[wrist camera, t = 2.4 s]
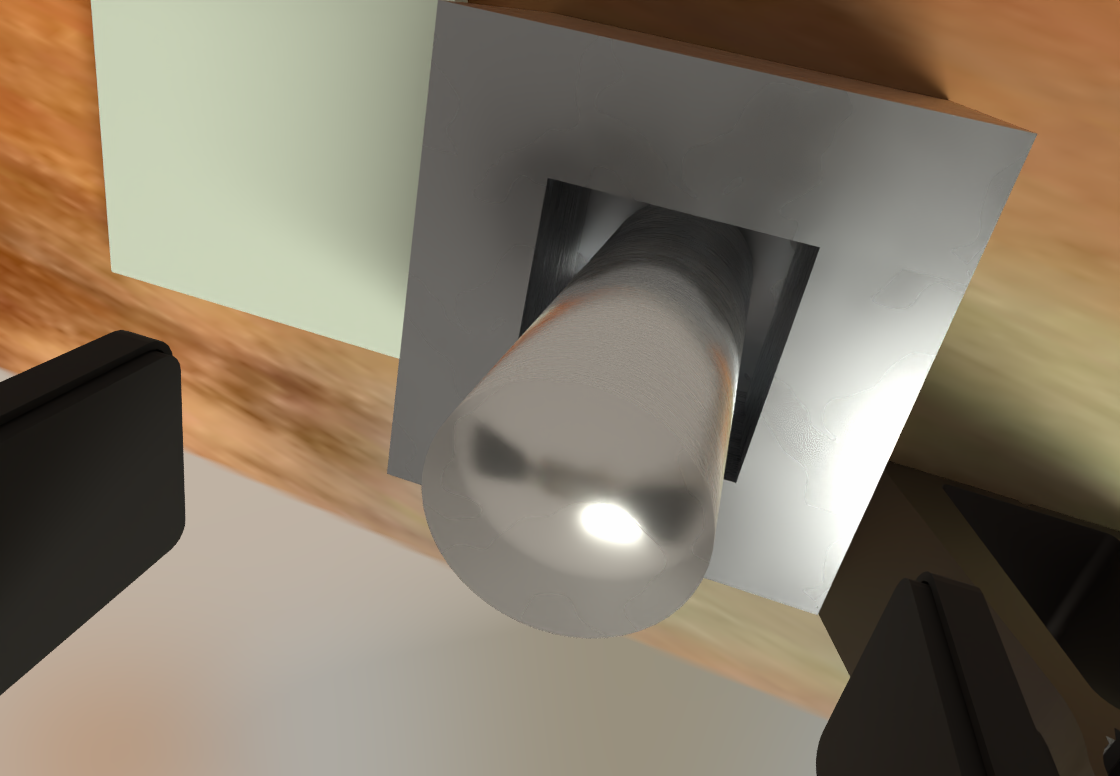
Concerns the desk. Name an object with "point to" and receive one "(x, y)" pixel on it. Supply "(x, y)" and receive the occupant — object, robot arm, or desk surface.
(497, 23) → the chuck block
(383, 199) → the mat
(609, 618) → the grey metal cylinder
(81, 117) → the desk surface
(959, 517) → the phone stand
